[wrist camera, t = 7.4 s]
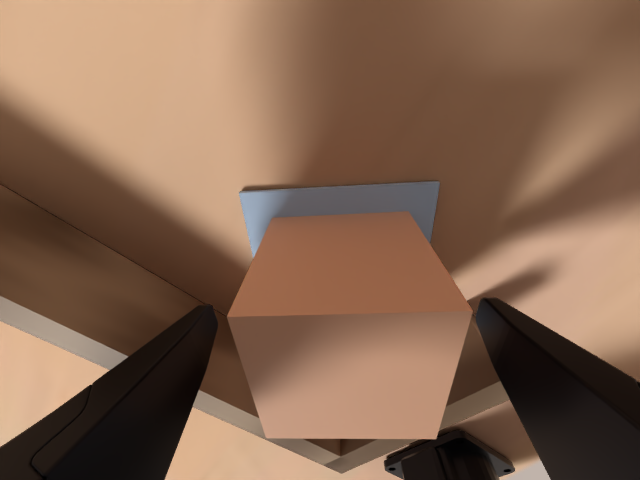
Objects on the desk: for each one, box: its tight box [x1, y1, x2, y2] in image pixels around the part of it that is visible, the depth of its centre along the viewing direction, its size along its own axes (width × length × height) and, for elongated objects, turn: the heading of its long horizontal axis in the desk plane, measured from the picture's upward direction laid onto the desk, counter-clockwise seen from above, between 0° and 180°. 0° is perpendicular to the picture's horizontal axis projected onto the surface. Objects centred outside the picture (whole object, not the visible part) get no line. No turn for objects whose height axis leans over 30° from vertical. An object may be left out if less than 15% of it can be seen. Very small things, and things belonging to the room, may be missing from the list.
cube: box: [227, 211, 473, 439], centre depth 9 cm, size 5×5×5 cm
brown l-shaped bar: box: [0, 184, 510, 474], centre depth 10 cm, size 20×9×4 cm, turn 49°
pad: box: [239, 181, 440, 258], centre depth 11 cm, size 7×7×1 cm
